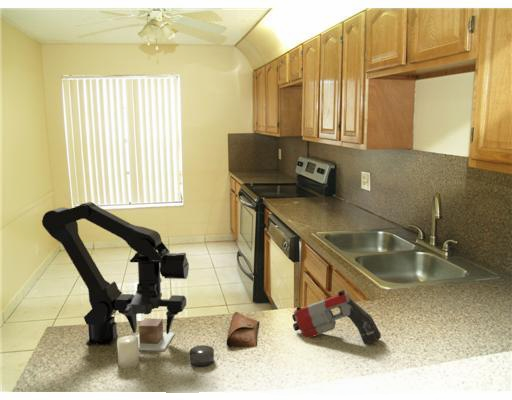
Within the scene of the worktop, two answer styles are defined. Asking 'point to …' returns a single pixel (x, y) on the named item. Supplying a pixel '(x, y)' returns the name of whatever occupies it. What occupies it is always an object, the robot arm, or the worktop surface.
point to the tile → (161, 345)
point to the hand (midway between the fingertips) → (151, 333)
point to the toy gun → (334, 318)
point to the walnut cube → (151, 331)
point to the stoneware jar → (128, 351)
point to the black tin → (201, 356)
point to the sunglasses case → (242, 331)
